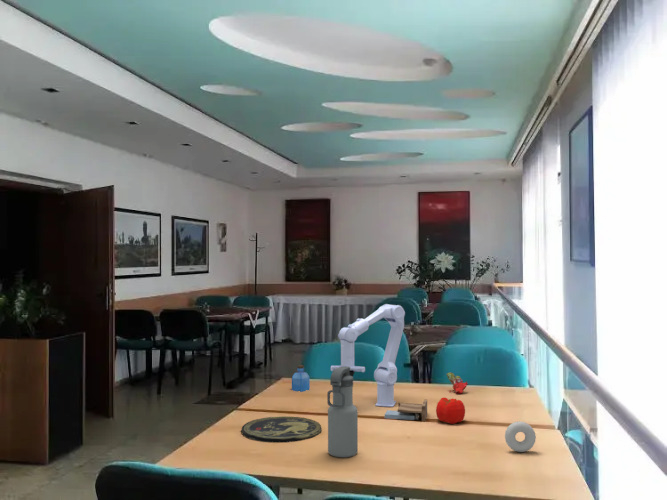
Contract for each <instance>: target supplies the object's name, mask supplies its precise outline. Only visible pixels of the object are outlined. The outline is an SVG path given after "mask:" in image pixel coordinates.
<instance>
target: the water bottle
mask: <svg viewBox="0 0 667 500" xmlns="http://www.w3.org/2000/svg"><path fill="white" fill-rule="evenodd" d="M349 371H350V367H348V366H342V367H339V368H336V369H334V371H331V375H330V379H329V381H330V384H329V385H330V386H331V387H332V390H328V391H327V405H328V406H329V407H328V410H327V452H328V454H329V455H331V456H332V457H334V458H343V459H344V458H351V457H354V456H356V455H357V454H358V449H359V448H358V447H359V446H358V442H359V440H358V437H359V436H358V435H359V432H358V425H359V424H358V415H359V414H358V413H359V412H358V408H357V406H355V404H354V402H353V399H354V398H353V397H354V396H353V387H354V376H353V377H352V376H350V374H349ZM331 394H332V403H331Z"/></svg>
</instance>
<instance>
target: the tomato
mask: <svg viewBox="0 0 667 500" xmlns="http://www.w3.org/2000/svg"><path fill="white" fill-rule="evenodd" d="M435 413H436V418H437V419H438V420H439V421H440V422H443V423H448V424H450V425H455V424H457V423H458V424H459V423H461V422H462V421H464V419H465V416H466V407H465V404H464V402H463V401H462V400H460V399H456V398H447V397H440V399H439V401H438V402H437V404H436V407H435Z"/></svg>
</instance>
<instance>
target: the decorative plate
mask: <svg viewBox="0 0 667 500" xmlns="http://www.w3.org/2000/svg"><path fill="white" fill-rule="evenodd" d="M322 430H323V429H322V424H320V423H319V422H318V421H316V420H313V419H310V418H306V417H301V416H289V415H288V416H283V415H281V416H279V415H278V416H268V417H267V416H266V417H261V418H257V419H252V420H250V421H248V422H246V423H245V424H243V425H242V426H241V430H240V431H241V434H242V436H243V437H245V438H247V439H249V440H253V441H256V442H263V443H274V444H275V443H277V444H278V443H294V442H301V441H302V442H303V441H305V440H309V439H312V438H315V437H317V436H319V435H320V434H321V433H322Z"/></svg>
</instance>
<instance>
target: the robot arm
mask: <svg viewBox="0 0 667 500" xmlns="http://www.w3.org/2000/svg"><path fill="white" fill-rule="evenodd" d="M405 316H406V312H405V309H404V307H403V306H401V304H397V305H396V304H388V303H385V304H383V305H381V306H379V308H378V309H377V310H375V311H374V312H372V313H371V314H370V315H368V316H367V317H366V318H359V317H358V318H357V319H356V321H354V322H353V323H350V324H348V325H347V326H346V327H342V328H341V329H340V330H339V333H338V334H337V337H338V339H339V341H340V364H339V365H331V366H330V371H331V372H333V371H334V369H336V368H339V367H342V366H348V367H350V371H349V374H350V376H352V377H353V378H354V375H355V372H359V373H360V372H361V373H365V372H366V367H365V366H359V365H358V366H357V365H355V341H357V339H358V337H359V336H361V335H362V334H364V333H365V332H367V331H368V330H369V326H371V325H373V324H375V323H377V322H378V321H381V320H382V319H385V321H387V323H389V325H390V331H389V334H388V339H387V342H386V346H385V351H384V354H383V358H382V361H380V362H379V363H378V364H377V368H376V369H375V370H374V372H373V378H374V380H375V381H376V384H377V385H376V386H377V387H376V390H377V391H376V393H377V395H376V396H377V397H376V398H377V399H376V400H377V401H376V403H375V407H389V408H390V407H392V408H394V407H395V405H396V403H397V400H394V399H395V397H394V395H395V390H394V389H395V387H394V386H395V384H396V382H397V380H398V375H397V373H398V368H397V366H396V361H397V360H396V359H397V356H398V352H399V349H400V343H401V340H402V336H403V334H404V333H403V332H404V328H405Z"/></svg>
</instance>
